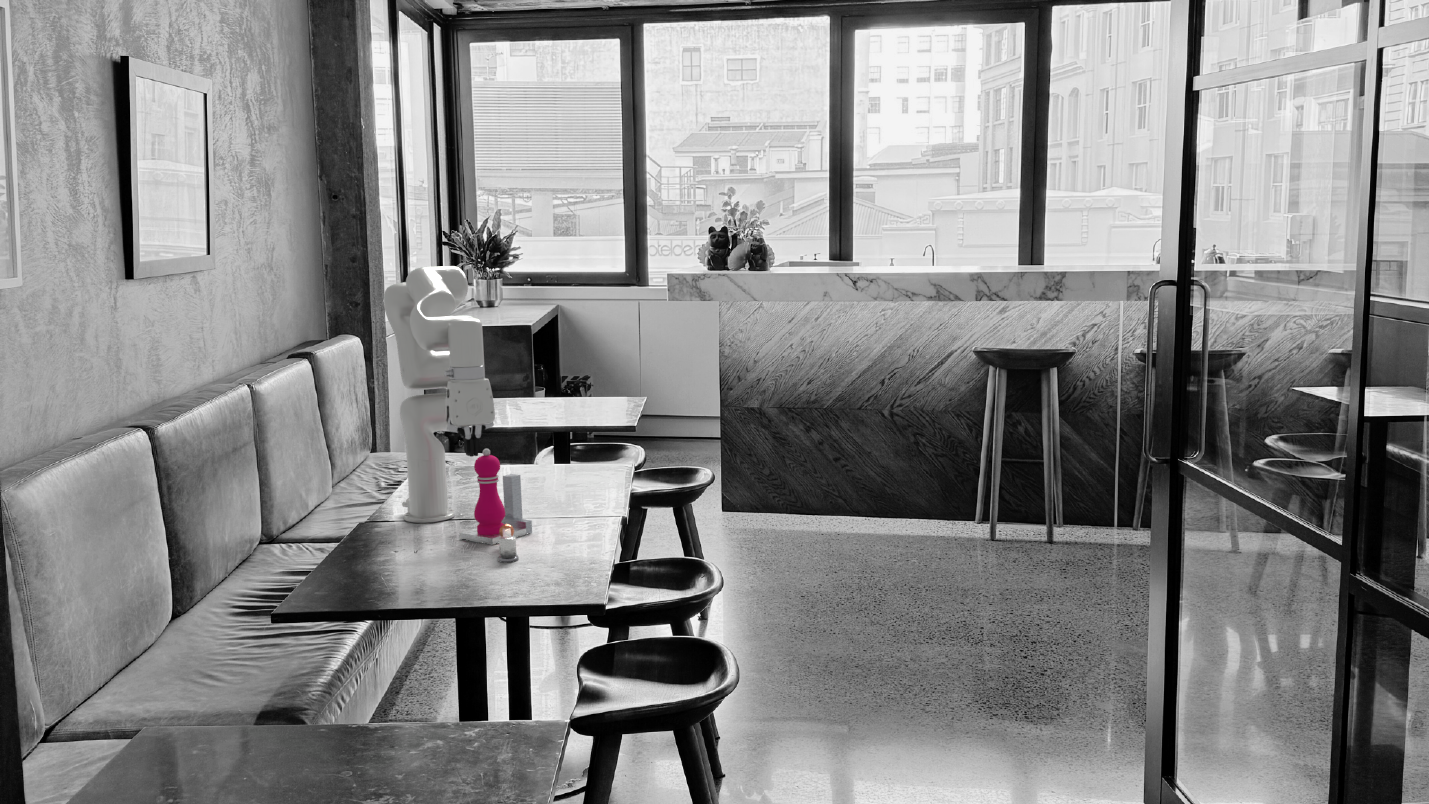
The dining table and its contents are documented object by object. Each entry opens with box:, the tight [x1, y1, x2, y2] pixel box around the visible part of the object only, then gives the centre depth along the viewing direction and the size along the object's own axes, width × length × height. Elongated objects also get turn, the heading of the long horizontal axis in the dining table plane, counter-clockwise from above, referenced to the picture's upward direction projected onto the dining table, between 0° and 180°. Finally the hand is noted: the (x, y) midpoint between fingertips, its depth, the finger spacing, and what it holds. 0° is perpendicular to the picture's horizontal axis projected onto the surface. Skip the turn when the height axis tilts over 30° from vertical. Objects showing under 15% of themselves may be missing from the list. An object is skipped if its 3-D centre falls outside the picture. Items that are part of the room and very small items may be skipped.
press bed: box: [459, 473, 533, 563], centre depth 271 cm, size 26×26×13 cm
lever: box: [498, 524, 518, 558], centre depth 263 cm, size 16×4×4 cm, turn 11°
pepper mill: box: [473, 448, 505, 535], centre depth 275 cm, size 7×7×20 cm
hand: (472, 455), depth 262 cm, fingers closed
